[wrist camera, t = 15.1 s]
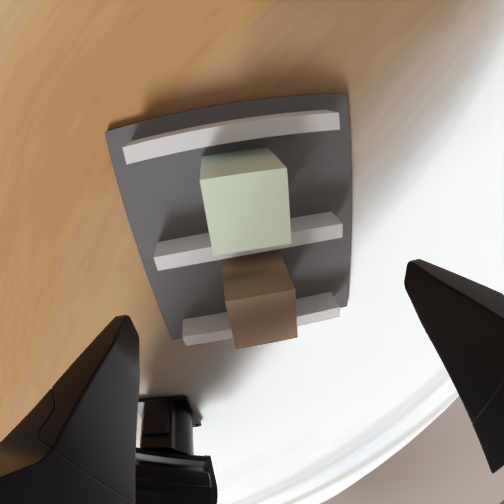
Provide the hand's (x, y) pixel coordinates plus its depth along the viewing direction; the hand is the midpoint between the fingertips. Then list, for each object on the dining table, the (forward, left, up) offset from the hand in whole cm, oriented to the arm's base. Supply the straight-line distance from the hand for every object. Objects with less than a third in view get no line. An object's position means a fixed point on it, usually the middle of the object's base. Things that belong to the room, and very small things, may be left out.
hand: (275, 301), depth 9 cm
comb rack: (-4, 0, -12) cm, 12 cm away
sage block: (0, 0, -12) cm, 12 cm away
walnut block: (-7, 0, -12) cm, 14 cm away
